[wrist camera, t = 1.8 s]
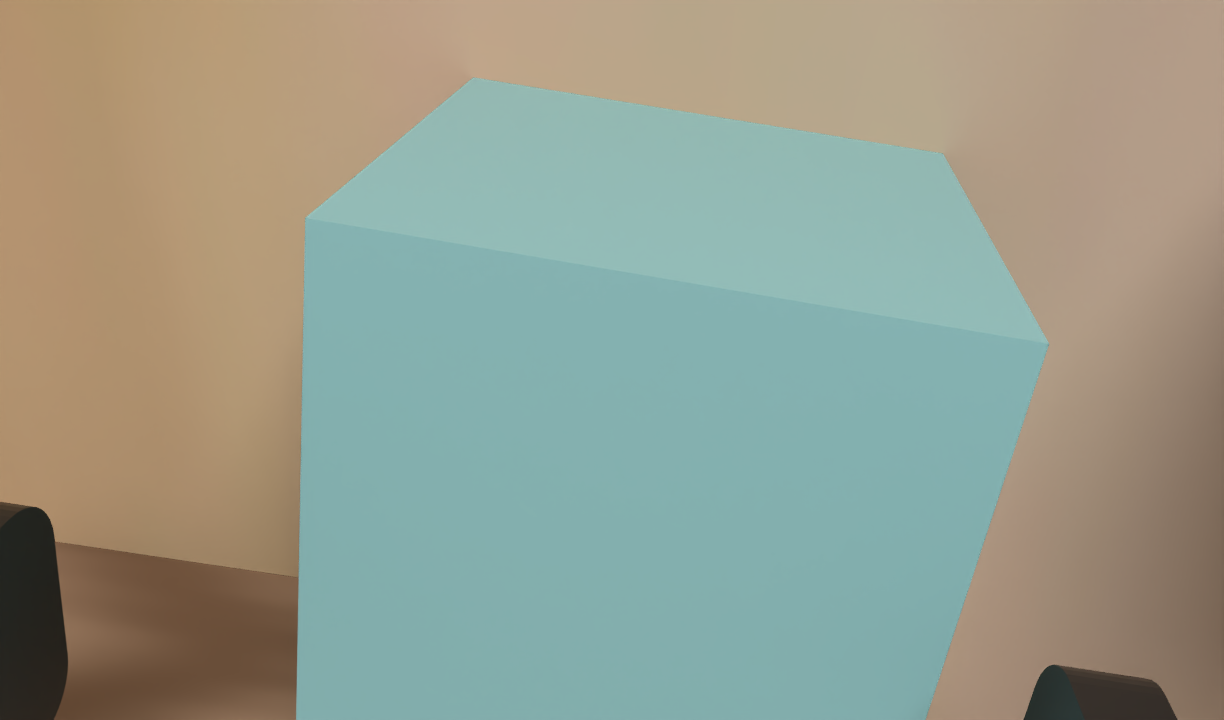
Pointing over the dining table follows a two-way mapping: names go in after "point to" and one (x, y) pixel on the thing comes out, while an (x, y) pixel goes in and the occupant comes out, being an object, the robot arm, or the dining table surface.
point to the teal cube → (646, 419)
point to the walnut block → (175, 639)
